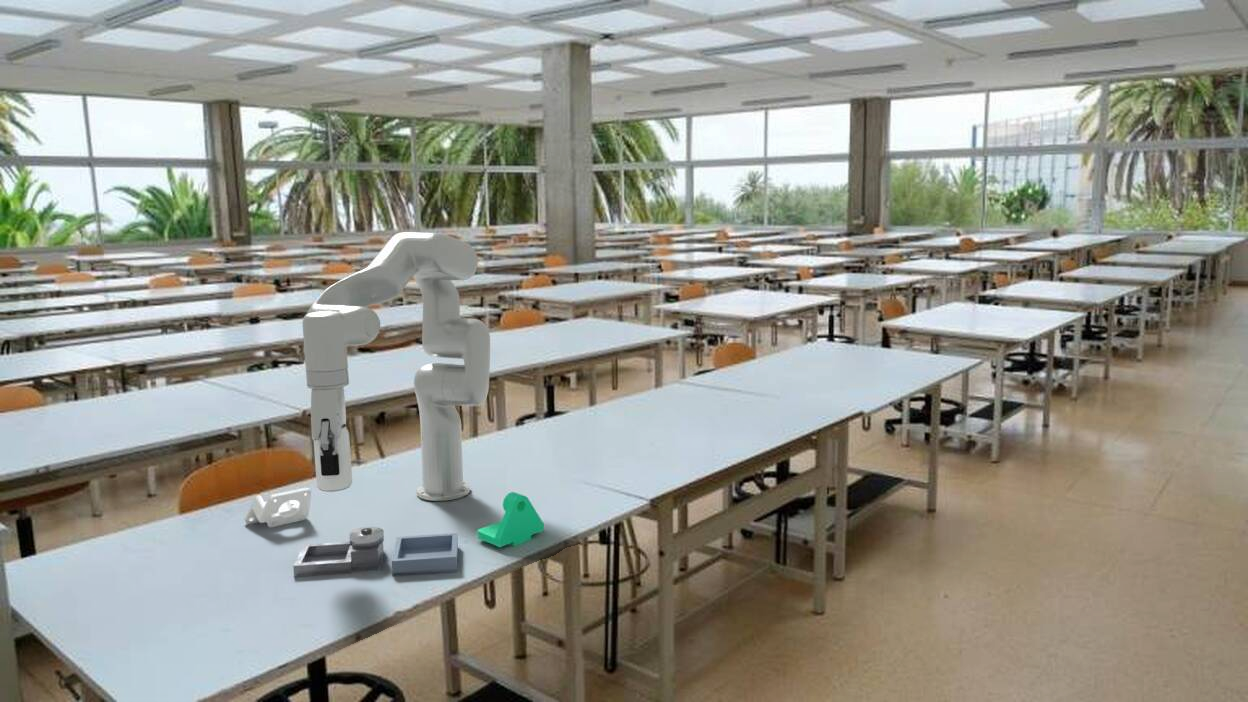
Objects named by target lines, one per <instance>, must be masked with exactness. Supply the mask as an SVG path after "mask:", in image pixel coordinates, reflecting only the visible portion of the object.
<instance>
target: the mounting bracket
mask: <svg viewBox="0 0 1248 702" xmlns="http://www.w3.org/2000/svg"><path fill="white" fill-rule="evenodd" d="M311 497H312V490H311V488H310V487H301V488H297V489H293V490H288V491H283V492H278V493H273V494H271V495H269V496H268V498H267V499H266V500H265V501H264V499H263V497H262V496H261V495H256V496H255V498H254V500H253V501H252V503H251V505H250V507H249V509H248V510H247V512H246V513H245V516H244V520H243V521H244V522H245V523H246V524H247V525H251V524H256V523H260V524H265V523H266V524H267V526H268V528H275V527H278V526H282V525H287V524H291V523H296V522H300V521H305V520H307V519H308V518H309V516H310V506H311V499H312V498H311Z"/></svg>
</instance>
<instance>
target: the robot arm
mask: <svg viewBox="0 0 1248 702" xmlns="http://www.w3.org/2000/svg"><path fill="white" fill-rule="evenodd" d="M478 264H479V261H478V254H477V253H476V250H475V248H474V247H473V246H472V245H471V244H469V243H468V242H465V241H463V240H460V239H458V238H455V237H453V236H451V235H450V236H449V235H447V234H443V233H440V232H414V231H411V232H409V231H407V232H399V233H396V234H394V235H393V236H392V237H390V239H389V240H388V241H387V242H386V244H384V246H383V247H382V248H381V249H380V251H379V252H378V253H377V254H376V256H375V257H374V258H373V260H371V262H370V263H369V264H368V265H367V266H366V267H365V268H364V269H362V270H360V271H359V270H358V271H357V272H355V273H352V274H351V275H349V276H347V277H345V278H343V279H341V280H339V281H337V282H335V283H334V284H332V285H330V286H329V287H328V288H326V289H324V290H323V292H321V293H320V295H319V296H318V297H317V298H316V299H315V300H314V302H313V303H312V304H311V305H310V307H309V309H308V311H307V312H306V314H305V315H304V316H303V318H302V335H303V336H302V337H303V348H304V349H303V350H304V352H303V353H304V363H305V374H306V378H305V379H306V387H307V388H308V389H311V390H310V391H311V394H310V421H311V423H310V424H311V427H310V428H311V439H312V441H313V442H314V441H317V439H318V438H319V437H320V462H321V474H322V476H331V475H339V473H340V471H339V457H338V454H336V452H337V439H338V438H340V436H341V431H342V428H343V427H344V424H346V425H347V414H346V413H347V412H346V411H347V410H346V399H345V397H346V396H345V389H344V387H347V386H348V385H350V379H349V362H348V347H350V346H351V347H353V346H364V345H367V344H370V343H371V342H373V341H374V340H375V339H376V338H377V336H378V335H379V333H380V330H381V319H380V318H379V315H378V314H377V313H376V312H375V311H374V310H373V309H372V308H369V307H372V306H375V305H380V304H383V303H387V302H389V301H392V300H395V298H398V296H400V294H401V293H402V292H403V290H404V289H405V287H407V285H408V284H409V283H410V281H411V280H412V278H413V280H414V281H415V283H416V285H417V286H418V288H419V290H420V293H421V298H422V324H421V325H422V327H421V329H422V330H421V333H422V334H421V338H422V339H421V340H422V342H421V343H422V349H423V351H424V353H425V354H427V355H428V356H431V357H433V358H442V359H457V360H458V359H460V360H463V362H464V363H463V364H454V363H444V362H443V363H442V362H441V363H440V362H439V363H438V362H437V363H436V362H434V363H427V364H424V365H422V366H420V367H419V368H418V369H417V371H416V372H415V374H414V377H413V387H414V393H415V394H414V395H415V397H416V401H417V407H418V412H419V424H420V425H419V426H420V446H421V448H420V449H421V451H420V452H421V470H422V471H421V472H422V484H421V485H419V486H418V487H417V488H416V495H417V497H418V498H420V499H422V500H426V501H431V502H432V501H433V502H443V501H452V500H457V499H460V498H461V499H462V498H463V497H465V496H467V495H468V494H469V493H470V492H471V491H470V490H471V487H470V484H469V483H468V482H465V481H464V471H463V470H464V467H463V462H464V461H463V441H462V420H461V417H460V414H459V412H458V410H457V409H456V407H455V406H461V407H478V406H480V405H483V404H484V403H485V401H486V399H487V397H488V393H489V389H490V387H489V386H490V370H491V369H490V362H491V336H490V331H489V328H488V326H487V325H486V324H485V323H484V322H483V321H482V320H480V319H476V318H470V317H467V318H465V317H463V318H462V317H461V315H460V314H461V312H460V311H461V310H460V307H461V306H460V301H461V300H460V294H459V291H458V289H457V288H456V286H455V284H454V283H453V282H452V281H467V280H469V279H471V278H472V277H474V275H475V273H476V271H477V270H478V269H477V268H478ZM319 435H320V436H319ZM329 435H334V437H333V438H329ZM329 442H333V448H332V445H331V444H329Z"/></svg>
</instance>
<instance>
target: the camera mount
mask: <svg viewBox="0 0 1248 702" xmlns="http://www.w3.org/2000/svg"><path fill="white" fill-rule="evenodd" d="M502 508H503V510H504V514H503V517H502V519H501V520H500V521H499V522H495V523H493V524H490V525H487V526H484V527H481V528H479V529H477V539H479V540H480V541H483V542H486V543H489V544H491V545H493V546H496V547H499V548H501V547H504V546H506V545H510V546H513V547H516V546H518V545H521V544H522V543H525V542H528V541H531V540H532V536H533V535H535V534H538V533H541V532H543V531H545V527H544V526H545V525H544V522H543V520H542V519H541V517H540V516H539V515H540V514H538V512H537V511H536V508H535V507H534V505H533V503H532V502H531V500H530V499H529V498H528V496H526V495H523V494H521V493H517V492H515V491H512V492H509V493H508V494H507V495H506V496H505V497H504V498H503V502H502Z"/></svg>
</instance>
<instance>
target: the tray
mask: <svg viewBox="0 0 1248 702" xmlns="http://www.w3.org/2000/svg"><path fill="white" fill-rule="evenodd" d="M458 537H459V535H458V532H455V533H450V532H449V533H437V534H421V535H408V536H396V539H395V544H394V549H393V553H392V556H391V576H392V577H400V576H401V577H403V576H414V575H427V574H442V573H455V572H458V557H459V556H458V555H459V542H458V541H459V540H458Z"/></svg>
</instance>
